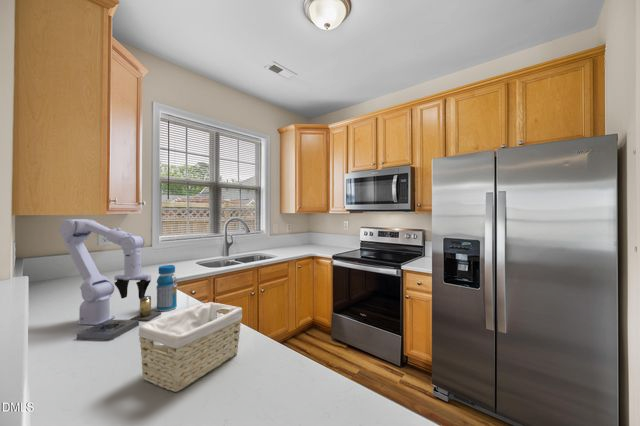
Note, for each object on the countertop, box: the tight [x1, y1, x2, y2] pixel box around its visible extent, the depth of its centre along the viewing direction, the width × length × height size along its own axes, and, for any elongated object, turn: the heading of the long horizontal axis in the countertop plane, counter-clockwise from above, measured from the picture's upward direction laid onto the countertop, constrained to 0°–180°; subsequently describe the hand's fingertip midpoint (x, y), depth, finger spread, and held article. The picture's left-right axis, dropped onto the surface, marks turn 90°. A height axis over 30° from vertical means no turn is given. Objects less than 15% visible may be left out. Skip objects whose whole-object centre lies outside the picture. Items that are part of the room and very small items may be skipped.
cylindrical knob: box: [139, 295, 152, 318], centre depth 115 cm, size 4×4×8 cm
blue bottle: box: [155, 264, 178, 312], centre depth 126 cm, size 8×8×20 cm
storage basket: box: [138, 301, 243, 393], centre depth 78 cm, size 24×16×15 cm
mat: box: [129, 311, 162, 322], centre depth 115 cm, size 8×8×1 cm
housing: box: [76, 319, 140, 341], centre depth 101 cm, size 13×13×2 cm
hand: (132, 297), depth 110 cm, fingers open, 7 cm apart
